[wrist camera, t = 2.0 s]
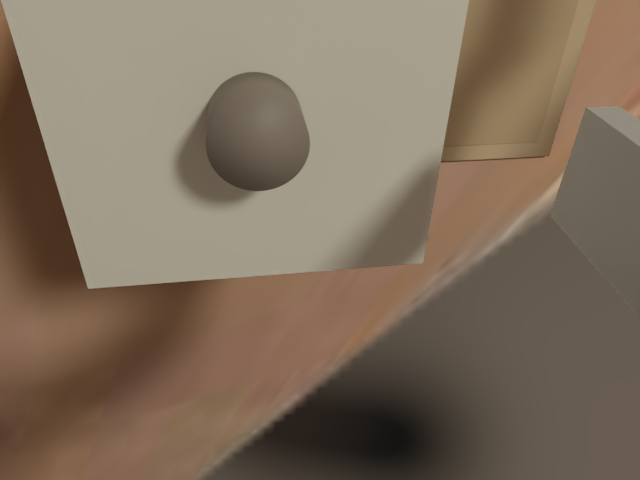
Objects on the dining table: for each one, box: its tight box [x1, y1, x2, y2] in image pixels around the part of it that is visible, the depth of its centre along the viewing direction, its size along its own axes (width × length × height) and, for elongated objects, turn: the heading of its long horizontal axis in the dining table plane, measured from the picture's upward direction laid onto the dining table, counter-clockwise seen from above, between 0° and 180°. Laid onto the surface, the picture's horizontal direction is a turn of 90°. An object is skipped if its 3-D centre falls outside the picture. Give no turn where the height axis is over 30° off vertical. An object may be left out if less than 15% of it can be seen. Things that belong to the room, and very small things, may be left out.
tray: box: [441, 0, 596, 161], centre depth 29 cm, size 11×11×1 cm
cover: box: [1, 0, 469, 289], centre depth 19 cm, size 10×10×16 cm
